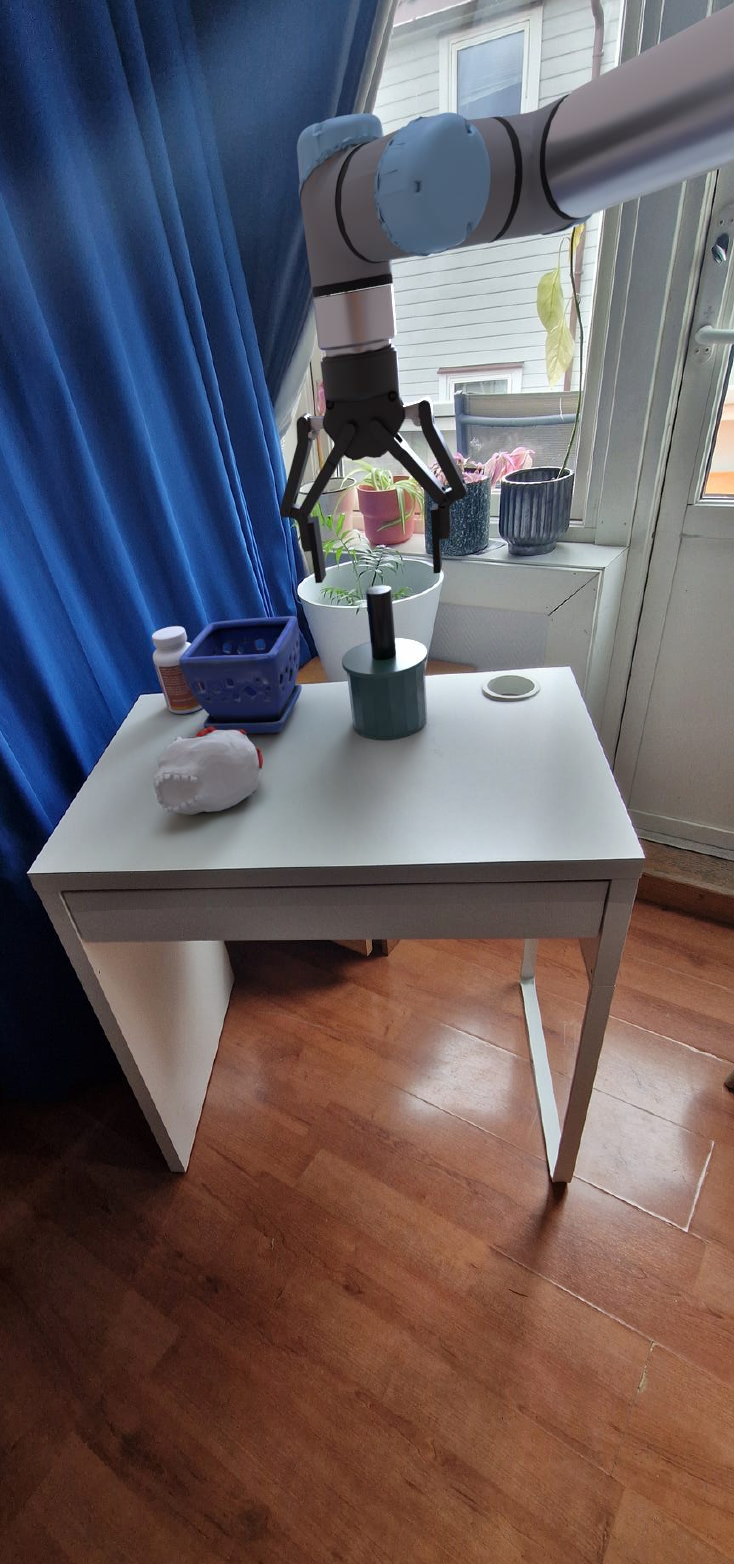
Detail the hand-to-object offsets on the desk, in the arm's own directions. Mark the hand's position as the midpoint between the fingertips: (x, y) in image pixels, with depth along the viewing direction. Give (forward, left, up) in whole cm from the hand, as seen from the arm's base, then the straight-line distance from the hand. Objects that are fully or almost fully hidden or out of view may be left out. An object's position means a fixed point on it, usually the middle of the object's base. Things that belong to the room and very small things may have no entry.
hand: (378, 574), depth 84 cm
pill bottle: (+31, -7, -19) cm, 37 cm away
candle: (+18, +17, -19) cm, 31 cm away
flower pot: (+19, -2, -19) cm, 27 cm away
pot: (0, 0, -19) cm, 19 cm away
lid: (0, 0, -10) cm, 10 cm away
